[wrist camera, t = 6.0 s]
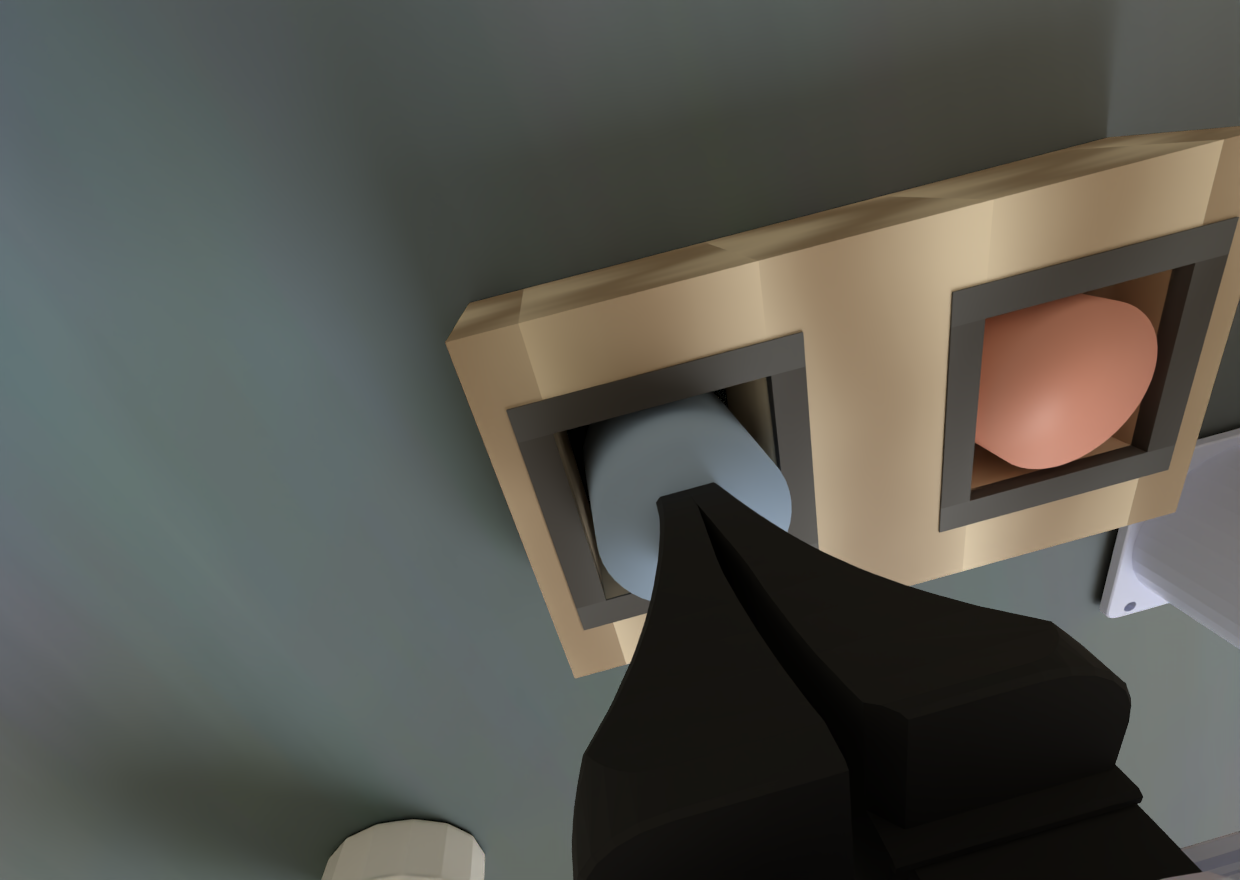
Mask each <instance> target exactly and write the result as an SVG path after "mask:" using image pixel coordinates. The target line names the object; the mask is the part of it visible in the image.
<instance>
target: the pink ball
mask: <svg viewBox="0 0 1240 880" xmlns="http://www.w3.org/2000/svg"><path fill="white" fill-rule="evenodd" d="M1157 348H1158V346H1157V337H1156V334H1155V330H1154V328H1153V326H1152V324H1151V322H1150V320H1149V319H1148V317H1147V316H1146V315H1145V314H1144V313H1143V312H1142V311H1141V310H1139V309H1138V308H1137V307H1134V306H1132V305H1130V304H1128V303H1125V302H1121V301H1116V300H1111V299H1106V298H1101V297H1096V296H1091V295H1086V294H1081V293H1080V294H1077V295H1073V296H1069V297H1065V298H1061V299H1058V300H1054V301H1050V302H1046V303H1043V304H1039V305H1035V306H1031V307H1028V308H1024V309H1020V310H1016V311H1013V312H1009V313H1005V314H1001V315H998V316H994V317H990V318H986V319H985V329H984V341H983V352H982V364H981V376H980V387H979V399H978V411H977V422H976V434H975V443H976V444H978V445H980V446H981V447H983V448H985V449H987V450H988V451H990V452H992V453H993V454H995V455H997V456H998V457H1000V458H1002V459H1003V460H1005V461H1007V462H1009V463H1010V464H1012V465H1015V466H1018V467H1021V468H1027V469H1045V468H1051V467H1056V466H1060V465H1063V464H1066V463H1069V462H1071V461H1073V460H1076V459H1078V458H1080V457H1082V456H1084V455H1086V454H1087V453H1089V452H1091V451H1092V450H1094V449H1095V448H1097V447H1098V446H1100V445H1101V444H1102V443H1104V442H1105V441H1106V440H1107V439H1109V438H1110V437H1111V436H1112V435H1113V434H1114V433H1115V432H1116V431H1117V430H1119V428H1120V427H1121V426H1122V425H1123V424H1124V423H1125V422H1126V421H1127V420H1128V419H1129V417H1130V416H1131V415H1132V413H1133V412H1134V411H1135V409H1136V408H1137V406H1138V405H1139V403H1140V402H1141V400H1142V399H1143V397H1144V395H1145V393H1146V391H1147V389H1148V387H1149V384H1150V382H1151V380H1152V377H1153V374H1154V370H1155V366H1156V361H1157Z"/></svg>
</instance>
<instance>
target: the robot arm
mask: <svg viewBox="0 0 1240 880" xmlns="http://www.w3.org/2000/svg"><path fill="white" fill-rule="evenodd" d="M656 506H657V510H658V514H659V520H660V538H659V552H658V562H657V568H656V574H655V580H654V586H653V591H652V595H651V600H650V604H649V608H648V611H647V615H646V619H645V622H644V625H643V628H642V631H641V634H640V637H639V640H638V643H637V646H636V649H635V652H634V654H633V657H632V660H631V662H630V665H629V667H628V669H627V671H626V674H625V676H624V678H623V680H622V682H621V685H620V687H619V689H618V691H617V693H616V696H615V698H614V700H613V702H612V704H611V706H610V708H609V710H608V712H607V714H606V715H605V717H604V719H603V721H602V723H601V724H600V726H599V728H598V730H597V731H596V733H595V735H594V737H593V739H592V740H591V742H590V744H589V746H588V747H587V749H586V751H585V753H584V754H583V758H582V763H581V768H580V774H579V779H578V785H577V792H576V799H575V806H574V817H573V833H572V860H573V879H574V880H1240V831H1239V832H1235V833H1232V834H1228V835H1225V836H1222V837H1218V838H1215V839H1211V840H1208V841H1205V842H1201V843H1198V844H1195V845H1191V846H1188V847H1184V848H1181V849H1180V848H1179V847H1178V846H1177V845H1176V844H1175V843H1174V842H1173V841H1172V840H1171V839H1170V838H1169V837H1168V835H1167V834H1166V833H1165V832H1164V831H1163V830H1162V829H1161V828H1160V827H1159V826H1158V825H1157V824H1156V823H1155V822H1154V821H1153V820H1152V819H1151V818H1150V817H1149V816H1148V815H1147V814H1146V813H1145V812H1144V811H1143V810H1142V809H1141V808H1140V807H1139V806H1138V805H1137V804H1138V803H1141V801H1142V798H1143V796H1142V794H1141V792H1140V790H1139V788H1138V787H1137V786H1136V785H1135V784H1134V783H1133V782H1132V781H1131V780H1130V779H1129V778H1128V777H1127V776H1126V775H1125V774H1124V773H1123V772H1122V771H1121V770H1120V769H1119V768H1118V767H1117V766H1116V765H1115V763H1116V760H1117V757H1118V754H1119V751H1120V748H1121V744H1122V741H1123V738H1124V735H1125V732H1126V729H1127V726H1128V723H1129V717H1130V709H1131V697H1130V694H1129V692H1128V689H1127V686H1126V683H1125V682H1123V681H1122V680H1121V679H1120V678H1119V677H1118V676H1117V675H1115V674H1114V673H1113V672H1112V671H1111V670H1110V669H1109V668H1107V667H1106V666H1105V665H1104V664H1103V663H1102V662H1101V661H1099V660H1098V659H1097V658H1096V657H1095V656H1094V655H1093V654H1091V653H1090V652H1089V651H1088V650H1087V649H1086V648H1085V647H1084V646H1082V645H1081V644H1080V643H1079V642H1077V641H1076V640H1075V639H1073V638H1072V637H1071V636H1070V635H1068V634H1067V633H1066V632H1064V631H1063V630H1062V629H1060V628H1059V627H1058V626H1056V625H1055V624H1054V623H1052V622H1051V621H1046V620H1042V619H1037V618H1032V617H1028V616H1023V615H1018V614H1013V613H1009V612H1004V611H999V610H995V609H990V608H985V607H980V606H976V605H972V604H969V603H965V602H961V601H958V600H954V599H950V598H947V597H943V596H939V595H936V594H932V593H929V592H926V591H923V590H919V589H916V588H913V587H910V586H907V585H904V584H901V583H898V582H896V581H893V580H890V579H887V578H884V577H882V576H879V575H876V574H873V573H871V572H868V571H866V570H863V569H861V568H858V567H856V566H853V565H851V564H849V563H847V562H845V561H842V560H840V559H838V558H836V557H833V556H831V555H829V554H827V553H825V552H823V551H821V550H819V549H817V548H815V547H813V546H811V545H809V544H807V543H805V542H804V541H802V540H800V539H798V538H796V537H795V536H793V535H791V534H790V533H788V532H786V531H785V530H783V529H781V528H780V527H778V526H777V525H775V524H773V523H772V522H770V521H769V520H767V519H766V518H764V517H763V516H761V515H759V514H758V513H757V512H755V511H754V510H752V509H751V508H749V507H748V506H746V505H745V504H744V503H742V502H741V501H739V500H738V499H737V498H735V497H734V496H733V495H731V494H730V493H729V492H727V491H726V490H725V489H723V488H722V487H721V486H719V485H718V484H716V483H714V482H713V483H709V484H705V485H702V486H698V487H694V488H691V489H687V490H683V491H679V492H676V493H672V494H668V495H665V496H661V497H659V499H658V500H657V502H656ZM1167 603H1171V604H1172V605H1174V606H1175V607H1177V608H1178V609H1180V610H1181V611H1183V612H1184V613H1186V614H1187V615H1189V616H1190V617H1192V618H1193V619H1195V620H1196V621H1198V622H1199V623H1201V624H1202V625H1204V626H1205V627H1207V628H1208V629H1210V630H1211V631H1213V632H1214V633H1216V634H1217V635H1219V636H1220V637H1222V638H1223V639H1225V640H1226V641H1228V642H1229V643H1231V644H1233V645H1234V646H1236V647H1237V648H1239V649H1240V428H1239V429H1235V430H1231V431H1228V432H1224V433H1220V434H1217V435H1213V436H1209V437H1206V438H1202V439H1198V440H1197V442H1196V446H1195V449H1194V452H1193V456H1192V459H1191V462H1190V466H1189V469H1188V472H1187V476H1186V479H1185V482H1184V486H1183V489H1182V492H1181V496H1180V499H1179V502H1178V506H1177V509H1176V512H1174V513H1171V514H1167V515H1164V516H1160V517H1156V518H1153V519H1149V520H1145V521H1142V522H1138V523H1135V524H1131V525H1127V526H1124V527H1120V528H1119V530H1118V534H1117V538H1116V542H1115V546H1114V550H1113V554H1112V558H1111V563H1110V567H1109V571H1108V575H1107V579H1106V583H1105V587H1104V591H1103V595H1102V599H1101V603H1100V611H1101V612H1102V613H1103V614H1105V615H1106V616H1107V617H1109V618H1117V617H1121V616H1124V615H1128V614H1131V613H1135V612H1139V611H1142V610H1146V609H1149V608H1153V607H1156V606H1160V605H1163V604H1167Z"/></svg>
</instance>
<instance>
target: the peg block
mask: <svg viewBox="0 0 1240 880" xmlns="http://www.w3.org/2000/svg"><path fill="white" fill-rule="evenodd" d="M1080 293H1081V294H1086V295H1091V296H1096V297H1101V298H1106V299H1111V300H1116V301H1121V302H1125V303H1128V304H1130V305H1132V306H1134V307H1137V308H1138V309H1139V310H1141V311H1142V312H1143V313H1144V314H1145V315H1146V316H1147V317H1148V319H1149V320H1150V322H1151V324H1152V326H1153V328H1154V330H1155V334H1156V337H1157V346H1158V348H1157V361H1156V366H1155V370H1154V374H1153V377H1152V380H1151V382H1150V384H1149V387H1148V389H1147V391H1146V393H1145V395H1144V397H1143V399H1142V400H1141V402H1140V403H1139V405H1138V406H1137V408H1136V409H1135V411H1134V412H1133V413H1132V415H1131V416H1130V417H1129V419H1128V420H1127V421H1126V422H1125V423H1124V424H1123V425H1122V426H1121V427H1120V428H1119V430H1117V431H1116V432H1115V433H1114V434H1113V435H1112V436H1111V437H1110V438H1109V439H1107V440H1106V441H1105V442H1104V443H1102V444H1101V445H1100V446H1098V447H1097V448H1095V449H1094V450H1092V451H1091V452H1089V453H1087V454H1086V455H1084V456H1082V457H1080V458H1078V459H1076V460H1073V461H1071V462H1069V463H1066V464H1063V465H1060V466H1056V467H1051V468H1045V469H1027V468H1021V467H1018V466H1015V465H1012V464H1010V463H1009V462H1007V461H1005V460H1003V459H1002V458H1000V457H998V456H997V455H995V454H993V453H992V452H990V451H988V450H987V449H985V448H983V447H981V446H980V445H978V444H976V443H975V434H976V422H977V411H978V399H979V387H980V376H981V364H982V352H983V341H984V329H985V319H986V318H990V317H994V316H998V315H1001V314H1005V313H1009V312H1013V311H1016V310H1020V309H1024V308H1028V307H1031V306H1035V305H1039V304H1043V303H1046V302H1050V301H1054V300H1058V299H1061V298H1065V297H1069V296H1073V295H1077V294H1080ZM1239 298H1240V126H1236V127H1224V128H1213V129H1201V130H1189V131H1178V132H1166V133H1154V134H1143V135H1131V136H1119V137H1108V138H1104V139H1100V140H1096V141H1093V142H1089V143H1085V144H1081V145H1077V146H1073V147H1069V148H1066V149H1062V150H1058V151H1054V152H1050V153H1046V154H1042V155H1039V156H1035V157H1031V158H1027V159H1023V160H1019V161H1015V162H1012V163H1008V164H1004V165H1000V166H996V167H992V168H988V169H985V170H981V171H977V172H973V173H969V174H965V175H961V176H958V177H954V178H950V179H946V180H942V181H938V182H934V183H931V184H927V185H923V186H919V187H915V188H911V189H907V190H904V191H900V192H896V193H892V194H888V195H884V196H880V197H877V198H873V199H869V200H865V201H861V202H857V203H853V204H850V205H846V206H842V207H838V208H834V209H830V210H826V211H823V212H819V213H815V214H811V215H807V216H803V217H799V218H796V219H792V220H788V221H784V222H780V223H776V224H772V225H769V226H765V227H761V228H757V229H753V230H749V231H745V232H742V233H738V234H734V235H730V236H726V237H722V238H718V239H715V240H711V241H707V242H703V243H699V244H695V245H691V246H688V247H684V248H680V249H676V250H672V251H668V252H664V253H661V254H657V255H653V256H649V257H645V258H641V259H637V260H634V261H630V262H626V263H622V264H618V265H614V266H610V267H607V268H603V269H599V270H595V271H591V272H587V273H583V274H580V275H576V276H572V277H568V278H564V279H560V280H556V281H553V282H549V283H545V284H541V285H537V286H533V287H529V288H526V289H522V290H518V291H514V292H510V293H506V294H502V295H499V296H495V297H491V298H487V299H483V300H479V301H475V302H472V303H469V304H468V306H467V307H466V309H465V311H464V312H463V314H462V315H461V317H460V319H459V320H458V322H457V324H456V325H455V327H454V329H453V330H452V332H451V334H450V335H449V337H448V339H447V340H446V342H445V343H446V346H447V349H448V351H449V354H450V356H451V359H452V361H453V364H454V367H455V369H456V372H457V374H458V377H459V380H460V382H461V385H462V387H463V390H464V393H465V395H466V398H467V400H468V403H469V405H470V408H471V411H472V413H473V416H474V418H475V421H476V424H477V426H478V429H479V431H480V434H481V436H482V439H483V442H484V444H485V447H486V449H487V452H488V455H489V457H490V460H491V462H492V465H493V468H494V470H495V473H496V475H497V478H498V480H499V483H500V486H501V488H502V491H503V493H504V496H505V499H506V501H507V504H508V506H509V509H510V512H511V514H512V517H513V519H514V522H515V524H516V527H517V530H518V532H519V535H520V537H521V540H522V543H523V545H524V548H525V550H526V553H527V556H528V558H529V561H530V563H531V566H532V568H533V571H534V574H535V576H536V579H537V581H538V584H539V587H540V589H541V592H542V594H543V597H544V599H545V602H546V605H547V607H548V610H549V612H550V615H551V618H552V620H553V623H554V625H555V628H556V631H557V633H558V636H559V638H560V641H561V643H562V646H563V649H564V651H565V654H566V656H567V659H568V662H569V664H570V667H571V669H572V672H573V675H574V677H575V678H579V677H582V676H586V675H589V674H593V673H597V672H600V671H604V670H607V669H611V668H615V667H618V666H622V665H626V664H629V663H630V662H631V660H632V657H633V654H634V652H635V649H636V646H637V643H638V640H639V637H640V634H641V631H642V628H643V625H644V622H645V619H646V615H647V611H648V608H649V604H650V601H649V600H646V599H643V598H640V597H638V596H636V595H634V594H632V593H631V592H629V591H628V590H626V589H624V588H623V587H622V586H621V585H620V584H618V583H617V582H616V581H615V580H614V579H613V577H612V576H611V575H610V574H609V573H608V571H607V569H606V568H605V566H604V564H603V562H602V560H601V557H600V555H599V551H598V547H597V542H596V535H595V529H594V523H593V517H592V513H591V509H590V506H589V503H588V500H587V496H586V493H585V490H584V486H583V483H582V480H581V476H580V473H579V470H578V467H577V463H576V460H575V457H574V453H573V450H572V447H571V443H570V440H569V437H568V434H567V430H569V429H573V428H576V427H580V426H584V425H588V424H591V423H595V422H599V421H603V420H606V419H610V418H614V417H618V416H622V415H625V414H629V413H633V412H637V411H640V410H644V409H648V408H652V407H655V406H659V405H663V404H667V403H670V402H674V401H678V400H682V399H685V398H689V397H693V396H697V395H700V394H704V393H708V392H712V391H716V390H719V389H723V388H725V389H726V396H727V403H728V409H729V410H730V411H731V413H732V414H733V415H734V416H735V417H736V419H737V420H738V421H739V422H740V423H741V424H742V426H743V427H744V428H745V429H746V430H747V432H748V433H749V434H750V435H751V436H752V437H753V439H754V440H755V441H756V442H757V443H758V445H759V446H760V447H761V448H762V449H763V450H764V452H765V453H766V454H767V455H768V456H769V458H770V459H771V460H772V461H773V462H774V463H775V465H776V466H777V467H778V469H779V470H780V471H781V473H782V475H783V476H784V478H785V480H786V483H787V485H788V488H789V491H790V497H791V511H792V512H791V520H790V525H789V529H788V533H790V534H791V535H793V536H795V537H796V538H798V539H800V540H802V541H804V542H805V543H807V544H809V545H811V546H813V547H815V548H817V549H819V550H821V551H823V552H825V553H827V554H829V555H831V556H833V557H836V558H838V559H840V560H842V561H845V562H847V563H849V564H851V565H853V566H856V567H858V568H861V569H863V570H866V571H868V572H871V573H873V574H876V575H879V576H882V577H884V578H887V579H890V580H893V581H896V582H898V583H901V584H904V585H907V586H911V585H914V584H918V583H922V582H925V581H929V580H932V579H936V578H940V577H943V576H947V575H951V574H954V573H958V572H961V571H965V570H969V569H972V568H976V567H979V566H983V565H987V564H990V563H994V562H997V561H1001V560H1005V559H1008V558H1012V557H1015V556H1019V555H1023V554H1026V553H1030V552H1034V551H1037V550H1041V549H1044V548H1048V547H1052V546H1055V545H1059V544H1062V543H1066V542H1070V541H1073V540H1077V539H1080V538H1084V537H1088V536H1091V535H1095V534H1099V533H1102V532H1106V531H1109V530H1113V529H1117V528H1120V527H1124V526H1127V525H1131V524H1135V523H1138V522H1142V521H1145V520H1149V519H1153V518H1156V517H1160V516H1164V515H1167V514H1171V513H1174V512H1176V509H1177V506H1178V502H1179V499H1180V496H1181V492H1182V489H1183V486H1184V482H1185V479H1186V476H1187V472H1188V469H1189V466H1190V462H1191V459H1192V456H1193V452H1194V449H1195V446H1196V442H1197V439H1198V436H1199V432H1200V429H1201V425H1202V422H1203V419H1204V415H1205V412H1206V409H1207V405H1208V402H1209V399H1210V395H1211V392H1212V389H1213V385H1214V382H1215V379H1216V375H1217V372H1218V369H1219V365H1220V362H1221V359H1222V355H1223V352H1224V349H1225V345H1226V342H1227V338H1228V335H1229V332H1230V328H1231V325H1232V322H1233V318H1234V315H1235V312H1236V308H1237V305H1238V302H1239Z"/></svg>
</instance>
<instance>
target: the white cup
mask: <svg viewBox="0 0 1240 880" xmlns="http://www.w3.org/2000/svg"><path fill="white" fill-rule="evenodd" d="M484 868H485V854H484V852H483V851H482V849H481V848H480V846H479V844H478V843H477V841H476V840H475V838H474V837H473V836H472V835H471V834H469V833H467V832H465V831H463V830H460V829H458V828H456V827H454V826H452V825H450V824H448V823H442V822H435V821H428V820H418V819H409V820H402V821H394V822H388V823H381V824H376V825H374V826H372V827H370V828H367V829H365V830H363V831H361V832H359V833H357V834H355V835H352V836H350V837H348V838H347V839H345V841H344V842H343V843H342V844H341V845H340V846H339V848H338V849H337V850H336V851H335V852H334V853H333V855H332V856H331V857H330V858H329V860H328V862H327V865H326V868H325V871H324V873H323V876H322V879H321V880H484Z"/></svg>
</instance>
